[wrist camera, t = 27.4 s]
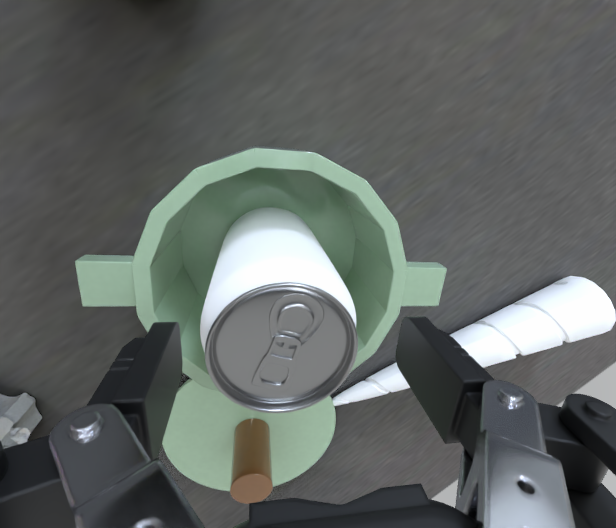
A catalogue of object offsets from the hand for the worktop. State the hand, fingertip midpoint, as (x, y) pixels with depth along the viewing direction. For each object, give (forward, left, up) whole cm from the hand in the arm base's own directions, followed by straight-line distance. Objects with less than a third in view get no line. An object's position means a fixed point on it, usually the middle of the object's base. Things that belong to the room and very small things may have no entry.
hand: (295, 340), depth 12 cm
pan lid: (+17, -1, -12) cm, 21 cm away
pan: (0, 0, -13) cm, 13 cm away
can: (+1, 0, -12) cm, 12 cm away
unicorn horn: (+9, +16, -13) cm, 23 cm away
